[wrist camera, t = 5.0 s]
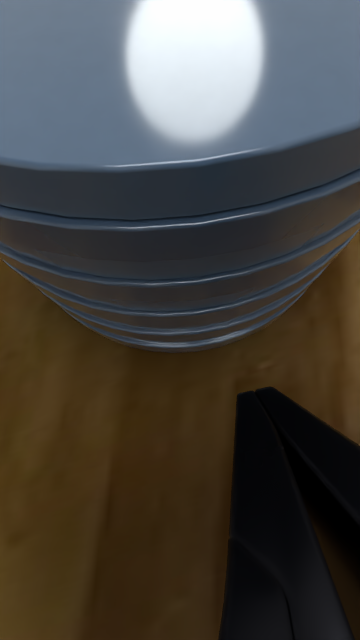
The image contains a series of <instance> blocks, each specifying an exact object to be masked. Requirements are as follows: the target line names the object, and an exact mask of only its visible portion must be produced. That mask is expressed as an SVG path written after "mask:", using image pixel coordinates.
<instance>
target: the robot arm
mask: <svg viewBox="0 0 360 640" xmlns="http://www.w3.org/2000/svg"><path fill="white" fill-rule="evenodd" d="M229 537H230V538H229V540H228V556H227V570H226V581H225V593H224V603H223V610H222V617H221V624H220V631H219V638H218V640H360V446H359V445H358V444H356V443H355V442H353V441H352V440H350V439H349V438H347V437H346V436H344V435H343V434H341V433H340V432H339V431H337V430H336V429H334V428H333V427H331V426H330V425H328V424H327V423H325V422H324V421H322V420H321V419H319V418H318V417H316V416H315V415H313V414H312V413H310V412H309V411H308V410H306V409H305V408H303V407H302V406H300V405H299V404H297V403H296V402H294V401H293V400H291V399H290V398H288V397H287V396H285V395H284V394H282V393H281V392H279V391H278V390H277V389H275V388H273V387H265V388H261V389H257V390H256V391H255V392H254V391H247V392H242V393H239V394H238V395H237V402H236V419H235V437H234V454H233V472H232V490H231V507H230V525H229Z"/></svg>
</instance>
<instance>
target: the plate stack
mask: <svg viewBox="0 0 360 640" xmlns="http://www.w3.org/2000/svg"><path fill="white" fill-rule="evenodd" d="M359 230H360V0H0V258H1V259H2V260H3V261H4V262H5V263H6V264H7V265H8V266H9V267H10V268H12V269H13V270H14V271H15V272H17V273H18V274H19V275H20V276H22V277H23V278H24V279H25V280H27V281H28V282H29V283H31V284H32V285H34V286H35V287H36V288H37V289H39V290H40V291H41V292H42V293H43V294H44V295H45V296H46V297H48V298H49V299H50V300H51V301H53V302H54V303H55V304H57V305H58V306H59V307H61V308H62V309H63V310H64V311H65V312H66V313H67V314H69V315H70V316H71V317H72V318H74V319H75V320H76V321H78V322H79V323H81V324H82V325H84V326H85V327H86V328H88V329H89V330H91V331H93V332H95V333H97V334H99V335H101V336H103V337H104V338H106V339H108V340H111V341H114V342H117V343H120V344H122V345H125V346H128V347H132V348H137V349H142V350H147V351H153V352H167V353H182V352H197V351H202V350H207V349H213V348H218V347H221V346H224V345H227V344H230V343H233V342H236V341H239V340H242V339H244V338H246V337H248V336H250V335H252V334H254V333H256V332H258V331H260V330H262V329H263V328H265V327H266V326H268V325H269V324H271V323H272V322H274V321H275V320H277V319H278V318H279V317H280V316H282V315H283V314H284V313H285V312H286V311H287V310H288V309H290V308H291V307H292V306H293V305H294V304H295V303H296V302H297V301H298V299H299V298H300V297H301V296H302V295H303V294H304V292H305V291H306V290H307V289H308V288H309V287H310V286H311V285H312V284H313V283H314V281H315V280H316V279H317V278H318V277H319V276H320V275H321V273H322V272H323V271H324V270H325V269H326V268H327V266H328V265H329V264H330V263H331V262H332V261H333V260H334V259H335V258H336V257H337V256H338V255H339V253H340V252H341V251H342V250H343V249H344V248H345V247H346V246H347V244H348V243H349V242H350V241H351V240H352V239H353V237H354V236H355V235H356V234H357V233H358V231H359Z"/></svg>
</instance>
